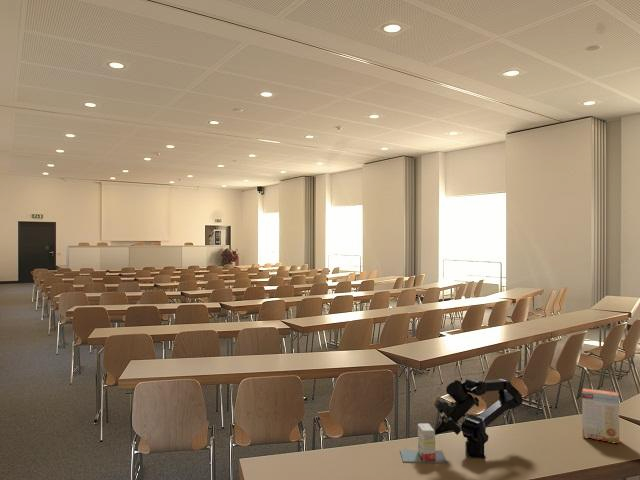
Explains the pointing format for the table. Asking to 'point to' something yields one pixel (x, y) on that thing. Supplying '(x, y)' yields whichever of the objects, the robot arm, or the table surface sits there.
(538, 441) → the table surface
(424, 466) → the table surface
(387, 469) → the table surface
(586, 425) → the cracker box
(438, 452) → the flat gray angled bracket
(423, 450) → the ink box
